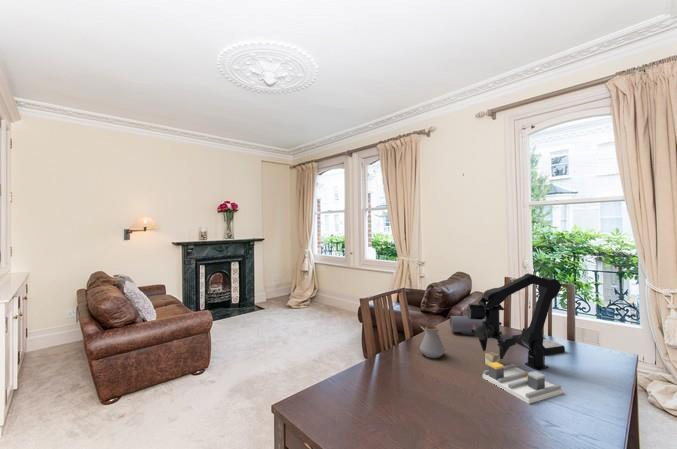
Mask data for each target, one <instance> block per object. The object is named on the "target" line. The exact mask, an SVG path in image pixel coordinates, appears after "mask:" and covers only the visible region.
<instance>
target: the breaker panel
mask: <svg viewBox="0 0 677 449" xmlns="http://www.w3.org/2000/svg"><path fill="white" fill-rule="evenodd" d="M530 372H531V371H530V370H527V371H525V370H523V369H521V368H519V367H517V364H515V363H511V364H508V365H504V377H503V378H499V379H497V380H496V379H494V378H492V377H490V376H489V369H485V370H483V373H482V379H484V380H486V381H487V380H488V381H487V382H489V383H491V384H492V385H494V384H495V385H494V386H496V385H497V387H498V388H500V389H501V388H502V390H503V389H504V391H505V392H507V393H509V394H510V395H512V396H514V397H515V398H518V400H521V401H523V402H525V403H526V404H528V405H529V404H530V405H531V404H533V403H537V402H540V401H542V400H546V399H549V398H552V397H556V396H559V395H562V394H564V388H562V385H560V384H553V383H551V382H548V381H546V380H545V388H544V389H540V390H535V389H533V388H531V387H529V386H528V373H530Z"/></svg>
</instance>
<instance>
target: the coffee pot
mask: <svg viewBox="0 0 677 449" xmlns="http://www.w3.org/2000/svg"><path fill="white" fill-rule="evenodd" d="M408 319H409V320H412V321H413V322H414V323H415V324H416V325H417V326H418V327H419V328H420V329H422V331H424V332H425V334H424V337H423V338H422V341H421V344H420V346H419V350H420V352H421V353H422V354H423V355H424V356H425V357H426V358H430V359H439V358H440V357H441V356H443V354H445V351H446V349H445V347H444V345H443V342H442V339H441V338H440V335H439V331H440V328H439V326H434V325H426V326H425V327H423V326H422V325H421V324H420V322H419V321H418V320H416V319H415V317H413V316H411V315H409V317H408Z"/></svg>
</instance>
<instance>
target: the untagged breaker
mask: <svg viewBox="0 0 677 449" xmlns="http://www.w3.org/2000/svg"><path fill="white" fill-rule="evenodd" d="M545 379H546V375H545V374H543V373H541V372H539V371H536V370H534V371H530V373H528V386H529V387H531V388H533V389H535V390H540V389H544V388H545V381H546V380H545Z"/></svg>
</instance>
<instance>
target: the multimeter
mask: <svg viewBox="0 0 677 449" xmlns="http://www.w3.org/2000/svg"><path fill="white" fill-rule="evenodd" d="M521 334H522V333H521ZM521 334H513V335H512V336H511V337H512V338H514V339H515V344H516V345H519V346H521V347H523V348H526V347H525V345H524V344H523V343H522V341H521V337H520V335H521ZM543 346H544V347H545V348H546V349H547V350H548V351H549V353H548V356H550V355H558V354H565V353H564V352H566V348H565V346H564V345H563V344H561V343H558V342H556V341H553V340H550V339H548V338H545V337H543Z"/></svg>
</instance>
